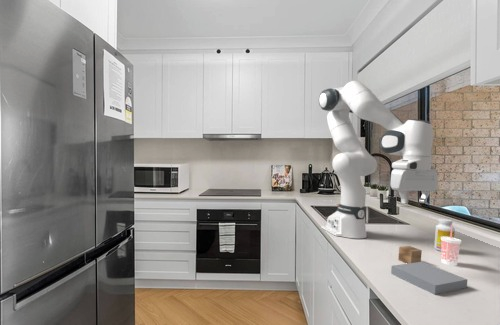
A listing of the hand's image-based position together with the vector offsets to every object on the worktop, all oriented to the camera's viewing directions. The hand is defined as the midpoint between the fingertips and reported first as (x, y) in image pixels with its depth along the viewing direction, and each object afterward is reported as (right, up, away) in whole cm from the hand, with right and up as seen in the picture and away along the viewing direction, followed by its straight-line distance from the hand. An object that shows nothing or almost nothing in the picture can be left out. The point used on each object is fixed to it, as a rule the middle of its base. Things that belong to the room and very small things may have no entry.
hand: (413, 203), depth 101 cm
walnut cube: (-1, -21, 0) cm, 21 cm away
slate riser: (-5, -21, -15) cm, 26 cm away
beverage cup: (+14, -22, +1) cm, 26 cm away
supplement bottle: (+22, -22, +17) cm, 36 cm away
